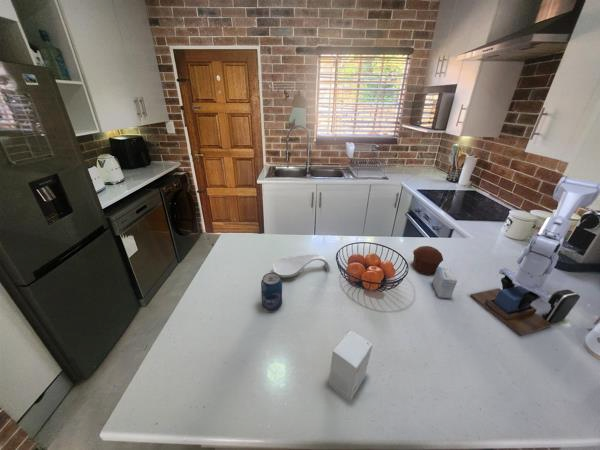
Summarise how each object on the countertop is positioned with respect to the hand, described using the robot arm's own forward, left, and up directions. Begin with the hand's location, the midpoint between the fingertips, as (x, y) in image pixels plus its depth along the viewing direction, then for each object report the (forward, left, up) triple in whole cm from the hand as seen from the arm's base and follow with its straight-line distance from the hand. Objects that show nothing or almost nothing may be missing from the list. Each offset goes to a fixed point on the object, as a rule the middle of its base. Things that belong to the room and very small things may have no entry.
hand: (512, 302), depth 85 cm
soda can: (+80, -22, -4) cm, 83 cm away
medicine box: (+16, -14, -4) cm, 22 cm away
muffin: (+12, -28, -4) cm, 31 cm away
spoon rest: (+65, -38, -4) cm, 75 cm away
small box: (+66, +8, -4) cm, 67 cm away
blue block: (0, 0, -2) cm, 2 cm away
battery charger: (-11, +6, -4) cm, 14 cm away
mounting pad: (0, 0, -4) cm, 4 cm away
